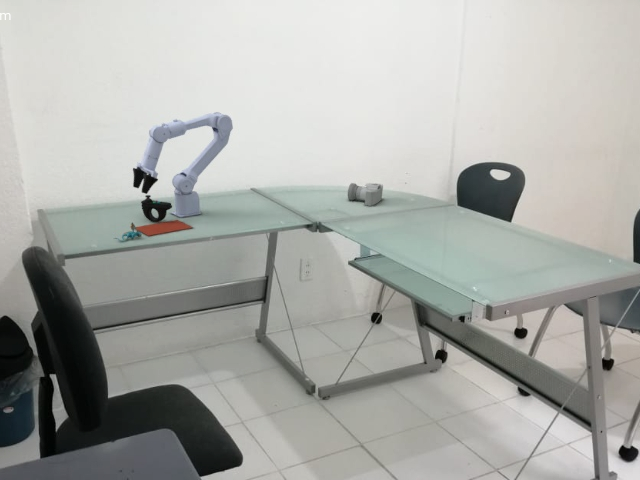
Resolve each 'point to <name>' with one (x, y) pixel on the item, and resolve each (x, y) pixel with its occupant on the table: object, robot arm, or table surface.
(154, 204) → the controller
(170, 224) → the mat
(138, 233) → the dragon figurine
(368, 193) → the digital camera
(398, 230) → the table surface
